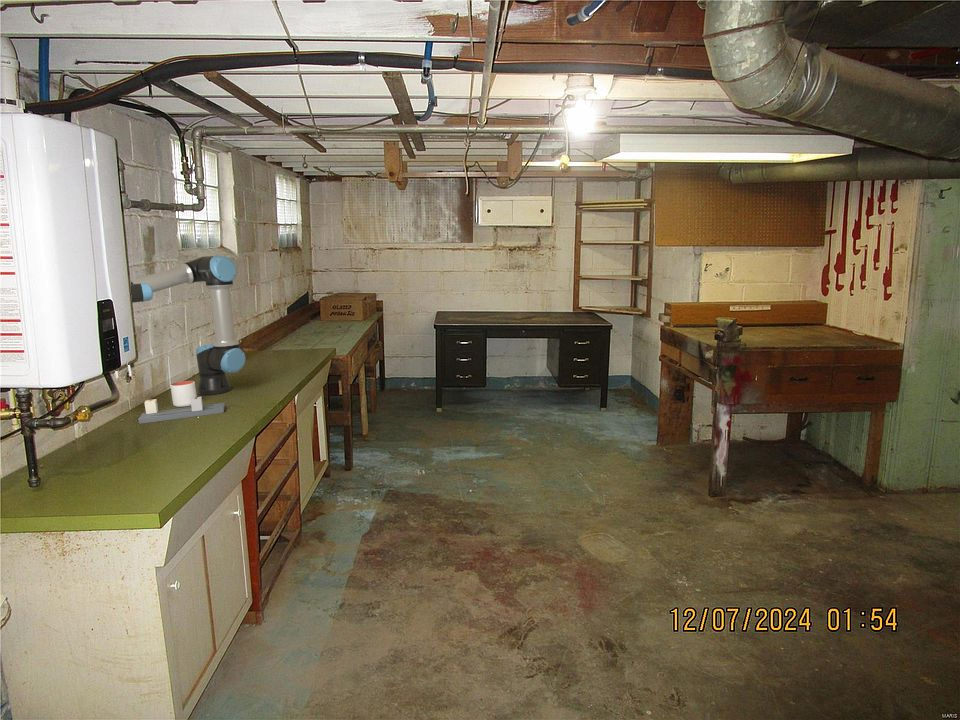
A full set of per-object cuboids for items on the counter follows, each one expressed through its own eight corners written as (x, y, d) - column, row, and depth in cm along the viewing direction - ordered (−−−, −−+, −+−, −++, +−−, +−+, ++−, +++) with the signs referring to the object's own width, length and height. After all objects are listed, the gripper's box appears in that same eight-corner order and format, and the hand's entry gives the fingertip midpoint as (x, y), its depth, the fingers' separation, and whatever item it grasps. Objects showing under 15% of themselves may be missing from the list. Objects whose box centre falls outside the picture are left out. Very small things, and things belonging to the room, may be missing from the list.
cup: (176, 409, 279) (172, 386, 277) (171, 405, 287) (168, 383, 285) (200, 404, 285) (197, 382, 283) (195, 400, 293) (192, 379, 291)
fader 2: (192, 409, 268) (191, 397, 267) (203, 408, 269) (201, 396, 268) (192, 411, 264) (190, 399, 263) (202, 410, 265) (200, 398, 264)
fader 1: (147, 411, 268) (145, 399, 267) (158, 410, 269) (156, 398, 268) (146, 414, 264) (144, 402, 263) (156, 412, 265) (155, 400, 264)
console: (143, 417, 267) (142, 413, 267) (224, 407, 277) (224, 402, 277) (139, 423, 258) (138, 418, 258) (223, 412, 268) (223, 407, 268)
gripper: (88, 322, 250) (98, 380, 255) (137, 318, 256) (146, 375, 260) (93, 320, 257) (102, 377, 261) (140, 316, 263) (149, 372, 267)
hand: (124, 376), depth 261 cm, fingers open, 4 cm apart
